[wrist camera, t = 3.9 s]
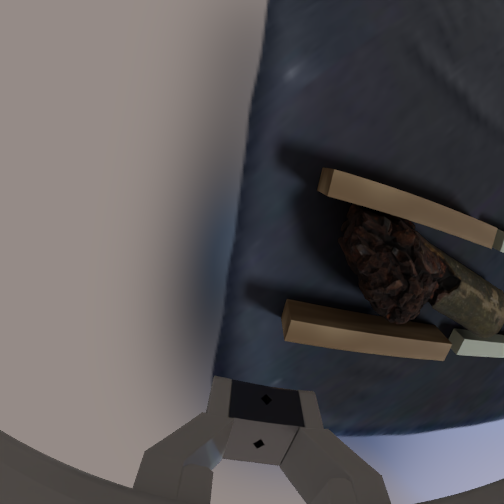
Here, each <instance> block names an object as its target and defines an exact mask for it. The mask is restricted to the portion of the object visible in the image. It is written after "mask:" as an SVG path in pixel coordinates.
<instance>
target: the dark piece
mask: <svg viewBox="0 0 504 504" xmlns="http://www.w3.org/2000/svg"><path fill="white" fill-rule="evenodd" d="M346 217H347V218H348V220H347V221H345V222H344V223H343V225H342V227H341V231H342V232H345V233H344V237H343V236H342V237H340V238H339V239H338V243H339V244H340V246H341V248H342V250H343V252H344V254H345V257H346V260H347V263H348V265H349V266H350V268H351V270H352V271H353V272H354V273H355V274H356V275H357V276H358V279H359V283H358V284H359V288H360V290H361V291H362V293H363V295H364V297H365V299H366V300H368V301H369V302H370V304H371V306H372V308H373V309H374V310H375V311H376V312H377V313H378V314H380V315H381V316H384V318H385V319H386V320H388V321H389V322H391V323H394V322H395V323H396V324H404V323H407V322H408V321H409V320H413V319H415V317H416V316H418V315H419V313H420V309H421V308H422V307H423V304H425V303H426V302H427V301H428V302H429V303H430V304H431V305H432V307H433V309H435V310H437V311H438V312H440V313H442V314H443V315H445V316H447V317H449V318H450V319H452V320H454V321H455V322H457V323H459V324H460V325H462V326H463V327H465V328H466V329H468V330H469V331H470V332H472V333H473V334H475V335H476V336H478V337H480V338H489V337H492V336H494V335H495V334H497V333H498V332H499V331H500V329H501V328H502V326H503V323H504V293H503V291H502V290H500V289H498V288H497V287H495V286H494V285H492V284H491V283H489V282H488V281H486V280H485V279H483V278H482V277H480V276H479V275H477V274H476V273H474V272H473V271H471V270H470V269H468V268H467V267H465V266H464V265H462V264H461V263H459V262H458V261H456V260H455V259H453V258H451V257H450V256H448V255H447V254H445V253H444V252H443V251H441V250H439V249H438V248H436V247H435V246H433V245H432V244H431V243H429V242H428V241H427V240H426V239H425V238H423V237H422V236H421V235H420V233H418V232H417V231H415V230H414V229H415V225H414V224H413V223H412V222H411V221H409V220H407V219H404V218H401V217H397V216H394V215H391V214H388V213H384V212H380V213H379V214H375V213H372V212H370V211H366V210H362V209H361V208H360V207H359V206H357V204H352V205H351V206H350V208H349V212H348V213H347V216H346Z"/></svg>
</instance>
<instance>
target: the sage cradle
mask: <svg viewBox="0 0 504 504" xmlns="http://www.w3.org/2000/svg"><path fill="white" fill-rule="evenodd" d="M492 247H493V248H495V249H497V250H499V251H501V252H503V253H504V232H503V231H501V230H499V229H497V233H496V236H495V239H494V243H493V246H492ZM448 340H449V341H450V342H451V343H452V346H451V349H452V350H453V351H454V352H455V353H456V355H467V356H482V357H500V358H504V335H499V334H495V335H494V336H492V337H489V338H480V337H478V336H476V335H475V334H473V333H472V332H470V331H469V330H463V329H456V328H454V329H453V331H452V333H451V335H450V337H449V339H448Z"/></svg>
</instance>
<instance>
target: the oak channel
mask: <svg viewBox="0 0 504 504" xmlns="http://www.w3.org/2000/svg"><path fill="white" fill-rule="evenodd" d="M317 191H319V192H321V193H323V194H324V195H326V196H329V197H332V198H336V199H340V200H343V201H347V202H350V203H354V204H357V205H361V206H364V207H368V208H371V209H374V210H378V211H381V212H384V213H388V214H391V215H394V216H397V217H401V218H404V219H407V220H410V221H413V222H416V223H419V224H423V225H426V226H429V227H432V228H435V229H437V230H440V231H443V232H446V233H449V234H452V235H455V236H458V237H461V238H463V239H466V240H469V241H472V242H474V243H477V244H480V245H482V246H485V247H488V248H490V249H492V246H493V243H494V239H495V236H496V233H497V229H498V228H496V227H494V226H491V225H489V224H487V223H484V222H482V221H480V220H477V219H475V218H473V217H470V216H468V215H465V214H463V213H460V212H458V211H455V210H453V209H450V208H448V207H445V206H443V205H440V204H437V203H435V202H432V201H429V200H427V199H424V198H421V197H419V196H416V195H413V194H410V193H407V192H404V191H402V190H399V189H396V188H393V187H390V186H387V185H384V184H381V183H378V182H375V181H371V180H368V179H365V178H362V177H359V176H355V175H352V174H349V173H345V172H342V171H339V170H335V169H330V168H324V167H323V168H322V172H321V176H320V180H319V184H318V188H317ZM281 320H282V327H283V333H284V340H285V341H290V342H295V343H301V344H307V345H314V346H320V347H327V348H333V349H340V350H347V351H355V352H362V353H370V354H378V355H387V356H396V357H406V358H416V359H428V360H440V361H444V359H445V357H446V355H447V354H448V352H449V350H450V348H451V346H452V343H451V342H450V341H449V340H448V339H447V338H446V337H445V335H444V334H443V333H442V332H441V331H440V330H439V329H438V328H437V327H436V326H435V325H430V324H423V323H417V322H411V321H408V322H407V323H404V324H396V323H395V322H394V323H391V322H389V321H388V320H386V319H385V318H384V317H381V316H375V315H370V314H364V313H359V312H353V311H348V310H342V309H337V308H331V307H326V306H321V305H316V304H311V303H305V302H300V301H295V300H290V299H287V300H286V303H285V307H284V310H283V313H282V317H281Z"/></svg>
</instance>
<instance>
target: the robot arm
mask: <svg viewBox="0 0 504 504" xmlns="http://www.w3.org/2000/svg"><path fill="white" fill-rule="evenodd" d="M222 458H224V459H230V460H238V461H247V462H255V463H262V464H270V465H279V466H280V468H281V469H282V471H283V472H284V474H285V475H286V476H287V478H288V479H289V481H290V482H291V483H292V485H293V486H294V487H295V488H296V490H297V491H298V493H299V494H300V495H301V497H302V498H303V499H304V501H305V502H306V503H307V504H391V502H390V499H389V496H388V493H387V490H386V487H385V484H384V481H383V478H382V475H380V474H379V473H378V472H377V471H376V470H374V469H373V468H372V467H371V466H370V465H368V464H367V463H366V462H365V461H364V460H363V459H361V458H360V457H359V456H358V455H357V454H356V453H354V452H353V451H352V450H351V449H350V448H349V447H348V446H346V445H345V444H344V443H343V442H342V441H341V440H340V439H339V438H337V437H336V436H335V435H334V434H333V433H332V432H331V431H330V430H329V429H324V428H323V424H322V419H321V415H320V411H319V407H318V403H317V399H316V395H315V393H314V392H313V391H303V390H290V389H283V388H276V387H269V386H264V385H258V384H253V383H248V382H243V381H238V380H233V379H232V380H231V379H228V378H223V377H218V376H214V378H213V383H212V387H211V392H210V396H209V401H208V406H207V410H206V413H203V412H202V413H201V414H199V415H198V416H197V417H195V418H194V419H192V420H191V421H190V422H188V423H187V424H185V425H184V426H182V427H181V428H179V429H178V430H176V431H175V432H173V433H172V434H170V435H169V436H167V437H166V438H164V439H163V440H162V441H160V442H158V443H157V444H155V445H154V446H152V447H151V448H149V449H148V450H146V451H145V453H144V455H143V458H142V462H141V464H140V468H139V471H138V473H137V476H136V479H135V483H134V486H133V488H129V487H126V486H123V485H120V484H117V483H114V482H111V481H108V480H105V479H102V478H99V477H97V476H94V475H91V474H89V473H86V472H84V471H81V470H79V469H76V468H74V467H71V466H69V465H67V464H64V463H62V462H60V461H58V460H56V459H54V458H51V457H49V456H47V455H45V454H43V453H41V452H39V451H37V450H35V449H33V448H31V447H29V446H27V445H26V444H24V443H22V442H20V441H18V440H16V439H15V438H13V437H11V436H9V435H8V434H6V433H4V432H3V431H1V430H0V504H210V499H211V489H212V479H213V472H212V471H211V470H212V469H213V468H214V467H215V466H216V465H217V464H218V463H219V462H220V461H221V460H222ZM417 504H504V479H501V480H499V481H496V482H493V483H490V484H487V485H485V486H482V487H478V488H475V489H472V490H469V491H466V492H462V493H459V494H455V495H451V496H447V497H444V498H439V499H435V500H431V501H426V502H421V503H417Z"/></svg>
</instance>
